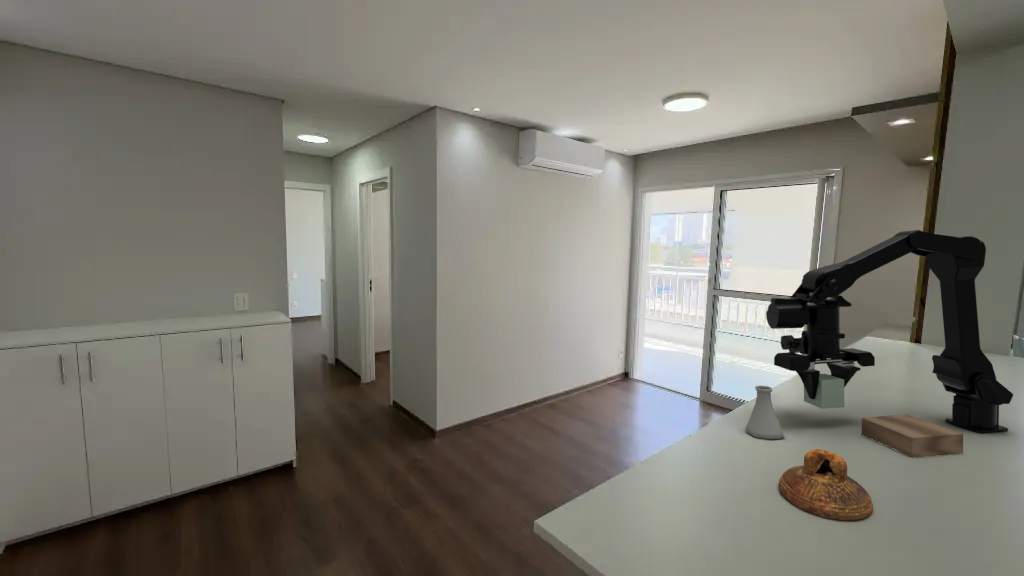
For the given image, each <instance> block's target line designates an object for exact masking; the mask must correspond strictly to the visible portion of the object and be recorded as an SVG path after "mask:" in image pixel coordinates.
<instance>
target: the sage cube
mask: <svg viewBox="0 0 1024 576" xmlns="http://www.w3.org/2000/svg"><path fill="white" fill-rule="evenodd" d="M803 402H806V403H807V404H810V405H812V406H814V407H817V408H819V409H822V410H824V409H825V410H826V409H837V408H845V388H844V379H841V378H837V377H834V376H831V374H828V373H820V376H819V381H818V387H817V393H816V396H815V399H810V398H809V396H808V394H807V391H806V389H805V387H804V386H803Z"/></svg>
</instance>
